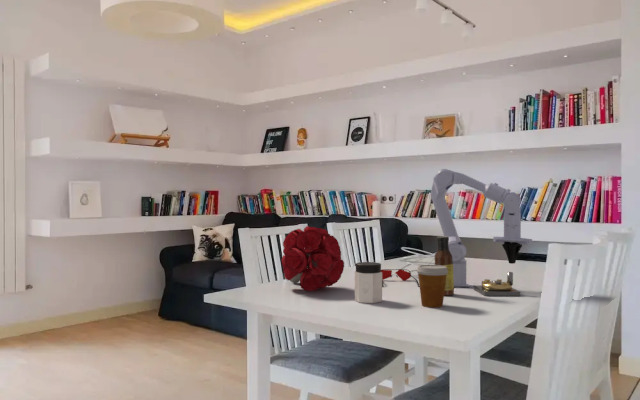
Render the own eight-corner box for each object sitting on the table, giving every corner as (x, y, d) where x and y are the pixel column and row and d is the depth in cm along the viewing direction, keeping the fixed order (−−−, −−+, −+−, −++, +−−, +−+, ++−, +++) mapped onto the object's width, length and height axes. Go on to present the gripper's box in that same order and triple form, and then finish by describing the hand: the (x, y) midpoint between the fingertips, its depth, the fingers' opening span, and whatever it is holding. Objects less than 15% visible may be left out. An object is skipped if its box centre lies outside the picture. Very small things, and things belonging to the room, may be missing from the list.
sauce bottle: (455, 293, 177) (455, 236, 177) (452, 296, 171) (452, 237, 171) (436, 292, 180) (436, 235, 180) (432, 295, 174) (432, 236, 174)
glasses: (410, 281, 206) (410, 268, 206) (419, 288, 190) (419, 274, 190) (376, 281, 206) (376, 268, 206) (382, 288, 189) (382, 274, 189)
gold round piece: (478, 288, 177) (478, 272, 177) (485, 284, 185) (485, 268, 185) (509, 291, 171) (509, 274, 171) (515, 287, 180) (515, 270, 180)
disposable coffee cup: (414, 302, 162) (414, 264, 162) (444, 302, 162) (444, 264, 162) (419, 308, 153) (419, 268, 153) (451, 309, 153) (451, 268, 153)
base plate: (484, 296, 173) (484, 291, 173) (474, 289, 185) (474, 285, 185) (520, 296, 173) (520, 291, 172) (507, 289, 185) (507, 285, 184)
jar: (351, 302, 162) (351, 264, 162) (357, 297, 170) (357, 261, 170) (379, 304, 159) (379, 265, 159) (384, 299, 167) (384, 262, 167)
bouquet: (269, 305, 190) (297, 274, 166) (263, 247, 201) (289, 210, 177) (322, 304, 198) (356, 275, 175) (314, 248, 210) (345, 214, 186)
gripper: (488, 225, 189) (488, 262, 189) (524, 227, 177) (523, 266, 177) (499, 224, 193) (499, 260, 193) (535, 226, 181) (535, 264, 181)
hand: (512, 263), depth 185 cm, fingers closed
